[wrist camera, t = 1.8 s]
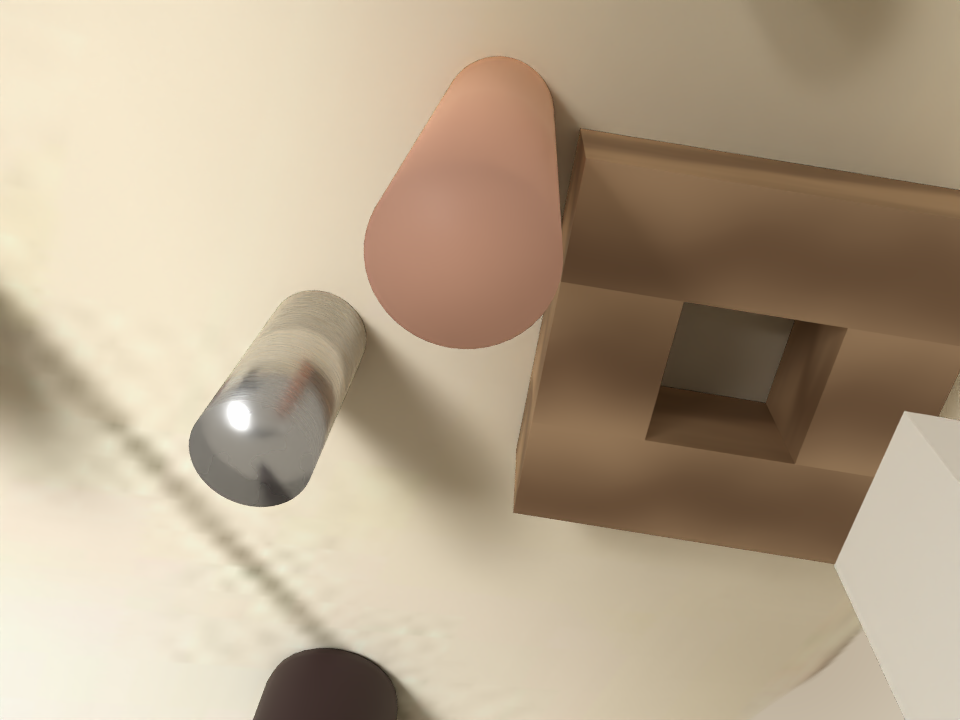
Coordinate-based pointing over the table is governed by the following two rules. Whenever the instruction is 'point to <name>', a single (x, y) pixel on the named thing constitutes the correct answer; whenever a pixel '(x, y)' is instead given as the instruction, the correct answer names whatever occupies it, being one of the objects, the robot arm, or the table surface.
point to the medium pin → (280, 402)
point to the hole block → (744, 287)
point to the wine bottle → (327, 689)
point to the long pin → (473, 213)
